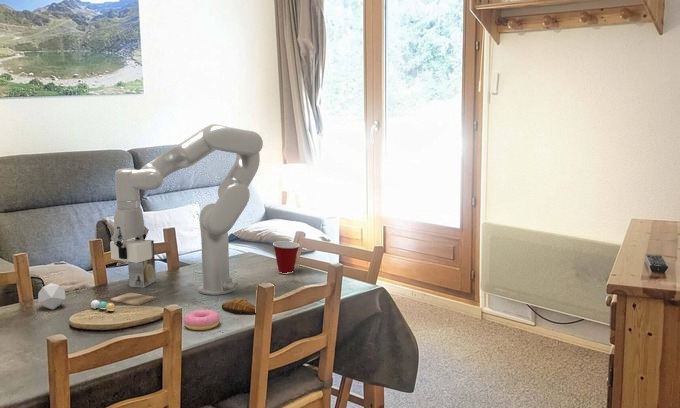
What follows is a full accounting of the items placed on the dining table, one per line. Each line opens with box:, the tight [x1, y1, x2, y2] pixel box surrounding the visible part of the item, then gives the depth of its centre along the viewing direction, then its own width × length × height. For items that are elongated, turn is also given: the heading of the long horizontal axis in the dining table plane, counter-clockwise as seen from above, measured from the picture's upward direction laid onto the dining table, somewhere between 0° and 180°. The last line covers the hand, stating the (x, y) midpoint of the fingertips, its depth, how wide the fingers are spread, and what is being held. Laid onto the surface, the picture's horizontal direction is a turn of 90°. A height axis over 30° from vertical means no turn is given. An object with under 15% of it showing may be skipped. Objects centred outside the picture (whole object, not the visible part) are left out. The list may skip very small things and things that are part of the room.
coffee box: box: [127, 239, 157, 289], centre depth 247 cm, size 9×6×16 cm
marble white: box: [90, 299, 101, 310], centre depth 219 cm, size 3×3×3 cm
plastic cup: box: [272, 240, 301, 273], centre depth 264 cm, size 11×11×12 cm
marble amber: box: [105, 302, 116, 309], centre depth 216 cm, size 3×3×3 cm
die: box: [37, 282, 66, 311], centre depth 220 cm, size 8×9×10 cm
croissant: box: [221, 297, 256, 315], centre depth 216 cm, size 14×7×5 cm, turn 65°
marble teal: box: [98, 300, 108, 309], centre depth 217 cm, size 3×3×3 cm
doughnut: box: [183, 309, 221, 331], centre depth 202 cm, size 11×11×4 cm
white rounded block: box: [109, 238, 152, 263], centre depth 227 cm, size 12×7×6 cm, turn 62°
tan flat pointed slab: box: [109, 292, 158, 306], centre depth 229 cm, size 13×9×1 cm
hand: (131, 256), depth 227 cm, fingers closed on white rounded block, 7 cm apart
